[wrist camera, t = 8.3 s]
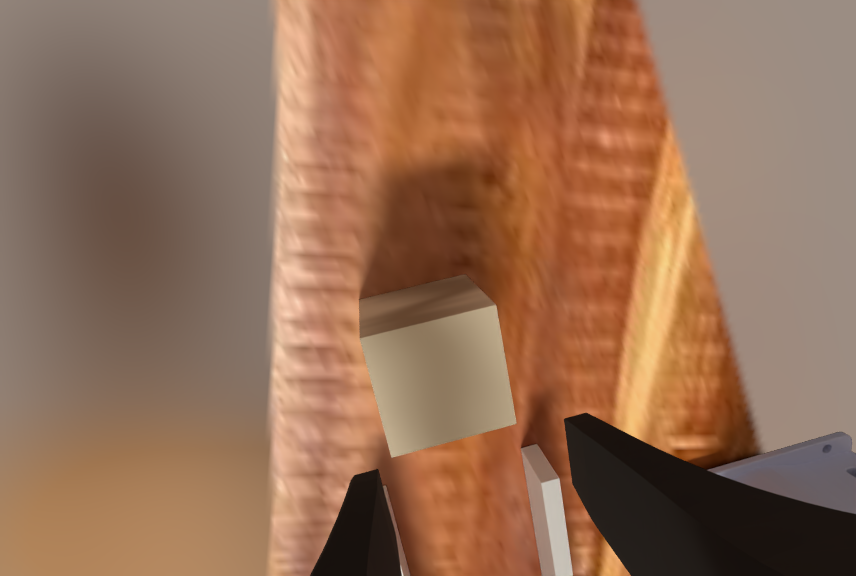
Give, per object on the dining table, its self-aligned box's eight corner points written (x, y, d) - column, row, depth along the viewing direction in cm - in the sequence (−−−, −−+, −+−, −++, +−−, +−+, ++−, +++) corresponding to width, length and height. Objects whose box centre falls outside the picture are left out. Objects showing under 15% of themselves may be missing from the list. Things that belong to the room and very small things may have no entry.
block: (464, 273, 19) (495, 304, 15) (482, 369, 20) (516, 423, 16) (359, 299, 19) (359, 338, 15) (384, 395, 20) (391, 457, 16)
